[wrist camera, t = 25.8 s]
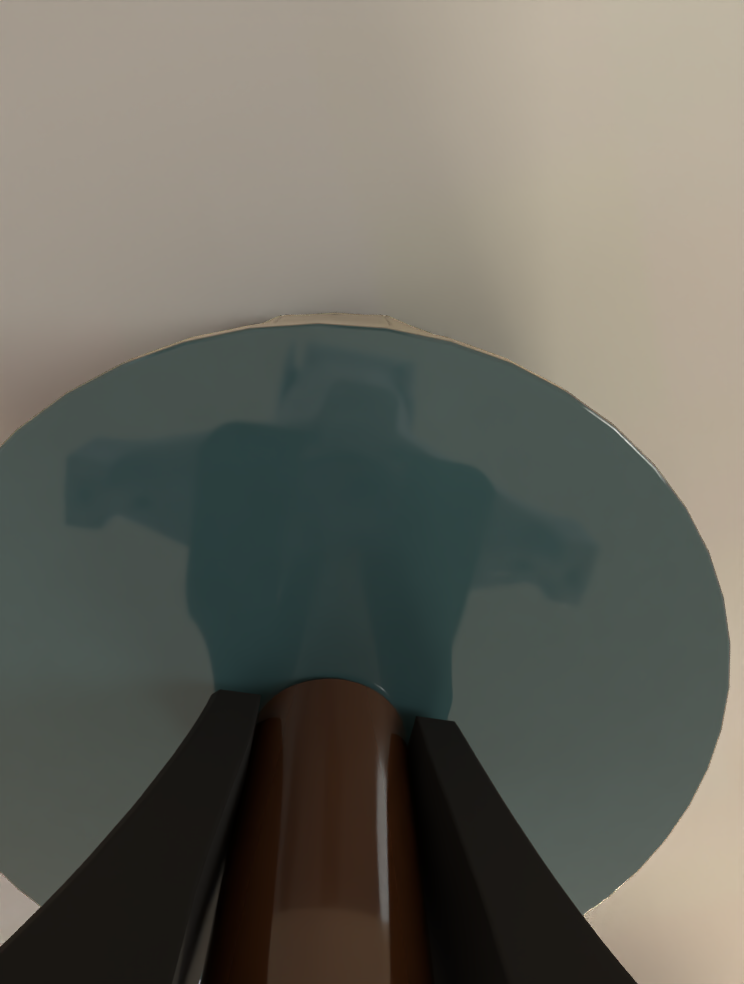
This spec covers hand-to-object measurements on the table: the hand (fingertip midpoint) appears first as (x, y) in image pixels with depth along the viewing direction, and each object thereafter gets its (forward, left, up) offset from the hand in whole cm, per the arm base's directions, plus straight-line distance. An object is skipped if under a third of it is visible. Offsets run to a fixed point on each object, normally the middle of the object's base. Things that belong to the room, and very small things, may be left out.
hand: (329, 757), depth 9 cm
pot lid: (0, 0, -1) cm, 1 cm away
